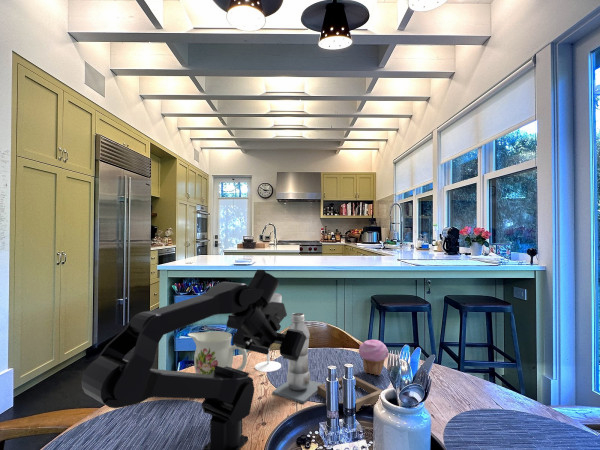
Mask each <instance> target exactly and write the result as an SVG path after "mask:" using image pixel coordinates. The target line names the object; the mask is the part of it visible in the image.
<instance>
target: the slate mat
mask: <svg viewBox="0 0 600 450" xmlns="http://www.w3.org/2000/svg"><path fill="white" fill-rule="evenodd" d="M322 384H323V382H322V383H321V382H319V381H313V380H311V379H310V384H309V386H308V387H307V388H306V389H304V390H299V391H298V390H293V389H291V388H290V387H289V385H288V382H287V381H286V382H284V383H283V384H281V385H280V386H278V387H277V388H276V389H274V390H273V391H272V395H275V396H277V397H281V398H284V399H288V400H290V401H295V402H298V403H301V404H306V403H307V402H308V401H309V400H310V399H311V398H313V397H314V396H315V395H316V394H318V388H317V386H319V385H322Z"/></svg>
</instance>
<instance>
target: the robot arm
mask: <svg viewBox="0 0 600 450" xmlns="http://www.w3.org/2000/svg"><path fill="white" fill-rule="evenodd" d="M279 285H280V281H279V279H278V278H277V277H275V276H273V274H270V273H269V272H266V271H265V269H256V271H255V273H254V276H253V277H252V278H251V281H250V282H249V284H248V285H247V283H241V282H232V281H231V282H230V281H221V282H219V283H217V284H214V285H213V286H211V287H209V289H208V290H207V291H206V292H205V293H203V294H201V295H198V296H197V295H196V296H195V297H191V298H188V299H185V300H181V301H178V302H175V303H172V304H171V303H170V304H169V305H165V306H162V307H158V308H155V309H152V310H149V311H142V312H138V313H137V314H135V315H134V316H133V317H132V318H131V319H130V321H129V322H128V324H127V325H126V327H124V329H123V330H121V331H120V332H119V333H118V334H117V335H116V336H115V337H114V338H113V339H112V340H110V341H109V342H108V343H107V344H106V345H105V347H104V348H103V349H102V351H101V352H100V354H99V355H98V356H97V357H96V359H95V360H93V361H92V362H91V363H90V364H89V365H88V366H87V367H86V369H85V370H84V371H83V374H82V376H81V377H82V378H81V380H80V381H81V382H80V383H81V388H82V390H83V393H85V394H86V395H87V396H89V397H91V398H93V399H95V400H96V401H98V402H99V403H101V404H103V405H104V406H106V407H107V408H111V409H118V408H120V409H121V408H125V407H130V406H134V405H139V404H140V403H143V402H144V401H146V400H149V399H152V398H157V399H158V398H160V399H161V398H165V399H200V400H201V399H202V403H201V408H202V410H203V413H205V414H208V415H210V416H211V418H210V424H209V427H210V428H209V432H210V433H209V442H208V443H207V444H206V445H204V446H203V450H240V449H241V448H242V447H243V446H244V445H245V444H246V443H247V442H248V441H249V436H247V435H244V434H243V420H244V419H246V418H247V417H248V416H249V415H250V413H251V408H252V404H253V399H254V395H255V386H254V379H253V378H252V377H251V376H249V375H250V373H249V372H246V371H243V370H242V371H241V370H237V368H233V367H232V368H231V367H228V366H226V367H220V366H217V365H215V370H214V372H213V373H212V374H209V375H208V374H198V373H196V372H189V371H188V372H187V371H177V370H166V369H160V368H159V369H158V368H152V367H153V366H154V361H155V358H156V354H157V350H158V346H159V343H160V342H161V340H162V338H163V337H164V335H167V334H169V333H173V332H175V331H177V330H179V329H182V328H184V327H187V326H189V325H193V324H194V323H197V322H200V321H203V320H205V319H209V318H210V317H213V316H216V315H227V314H228V316H227V321H226V328H230V329H234V330H236V331H235V333H234V334H233V336H232V344H234V345H235V346H236V347H240V348H242V349H245V350H246V351H251V352H254V353H258V354H263V355H265V356H267V355H268V353H269V354H270V347H271V345H273V344H277V345H280V346H279V355H281V357H282V358H283V359H286V360H288V361H289V360H292V361H296V362H297V361H298V358H299V356H300V353H301V350H302V348H303V345H304V343H305V340H306V336H305V334H304V333H303V331H300V330H294V329H289V328H288V329H289V330H288V329H287V330H286V332H285V333H281V332H280V329H281V328H282V326H281V325H280V323H281V322H282V321H283V320H284V319H285V318H286V317H287V316H288V313H287V310H286V306H285V303H283V302H282V303H278V302H270V300H271V298H272V296H273V295H274V293H275V292H276V291H277V288H278V287H279ZM278 331H279V332H278ZM132 349H134V350H133V353H132V355H131V357H130V358H129V360H127V359H124V358H125V356H126V355H127V354H128V353H130V352H131V351H132ZM268 349H269V350H268Z"/></svg>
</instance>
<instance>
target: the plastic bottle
mask: <svg viewBox="0 0 600 450" xmlns="http://www.w3.org/2000/svg"><path fill="white" fill-rule="evenodd" d="M290 321H291V324H290V325H289V327H288V329H287V330H289V329H294V330H300V331H303V333H304V334H305V336H306V340H305V343H304V345H303V348H302V350H301V353H300V356H299V358H298V361H297V362H296V361H292V360H289V359H288V370H287V374H286V375H287V376H286V380H287V381H286V382H288V385H289V387H290V388H291V389H293V390H298V391H299V390H304V389H306V388H307V387H308V386H309V384H310V380H311V373H310V369H309V358H308V357H309V343H310V342H309V341H310V335H311V334H310V331H309V328H308V327H307V325H306V324H305V321H306V319H305V314H304V312H294V313H291V320H290Z"/></svg>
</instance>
